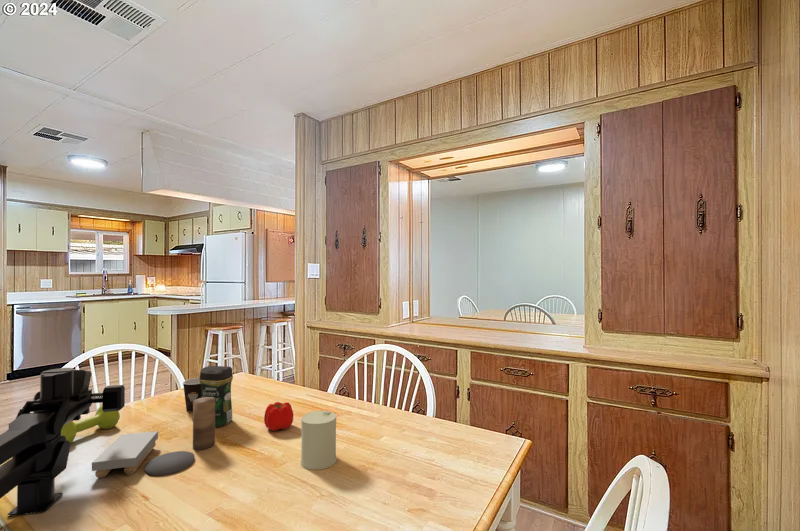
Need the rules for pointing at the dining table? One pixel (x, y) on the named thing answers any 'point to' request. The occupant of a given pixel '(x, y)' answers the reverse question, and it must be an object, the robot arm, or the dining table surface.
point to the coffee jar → (218, 391)
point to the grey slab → (125, 453)
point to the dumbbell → (91, 423)
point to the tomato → (278, 416)
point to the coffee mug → (191, 392)
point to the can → (318, 440)
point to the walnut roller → (203, 423)
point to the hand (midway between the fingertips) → (97, 390)
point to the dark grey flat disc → (169, 463)
